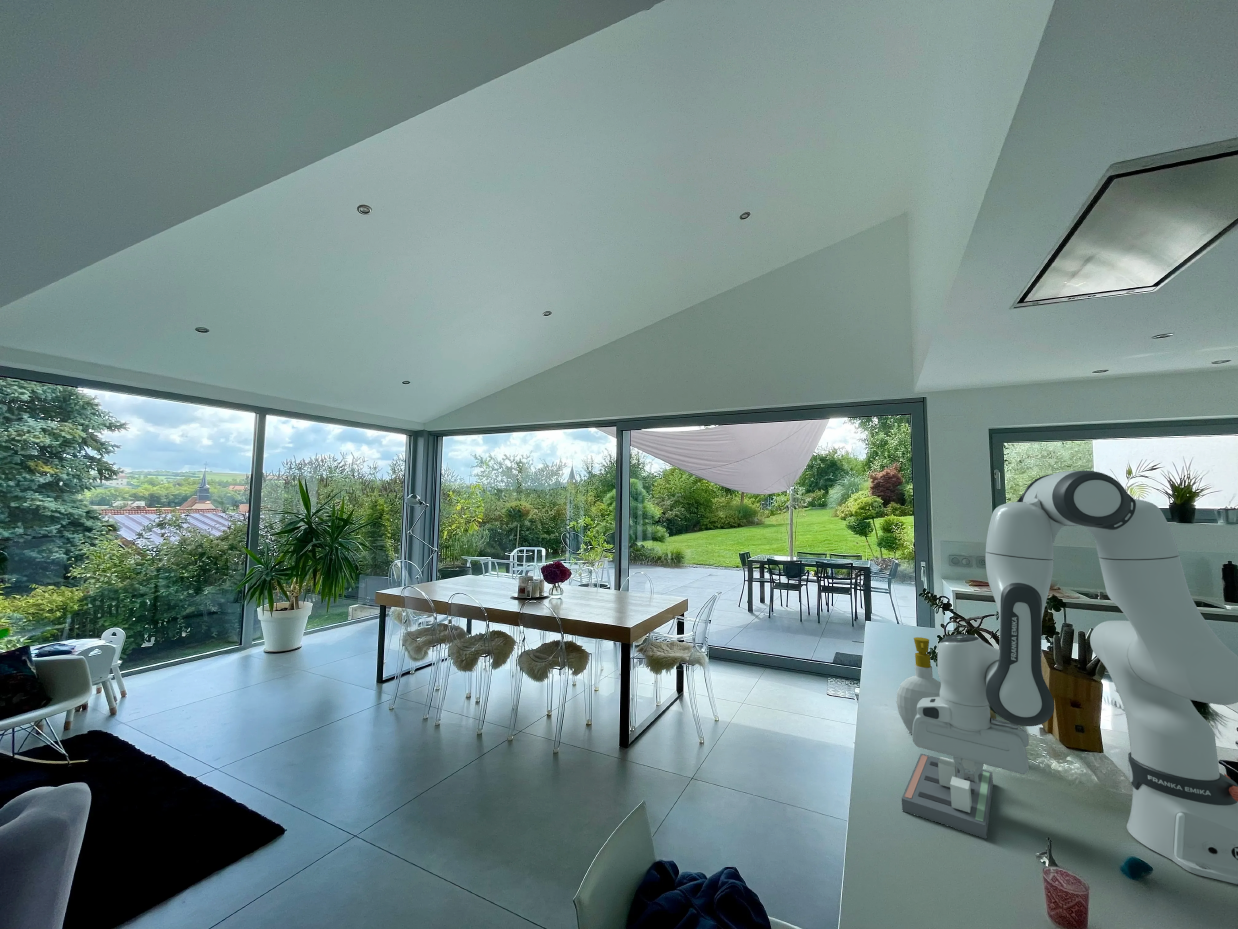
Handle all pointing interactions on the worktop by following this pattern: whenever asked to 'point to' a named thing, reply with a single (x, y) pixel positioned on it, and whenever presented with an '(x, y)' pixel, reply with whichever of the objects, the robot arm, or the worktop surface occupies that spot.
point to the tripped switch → (946, 771)
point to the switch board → (947, 798)
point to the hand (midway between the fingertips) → (969, 780)
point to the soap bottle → (917, 685)
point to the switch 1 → (968, 765)
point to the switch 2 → (960, 794)
